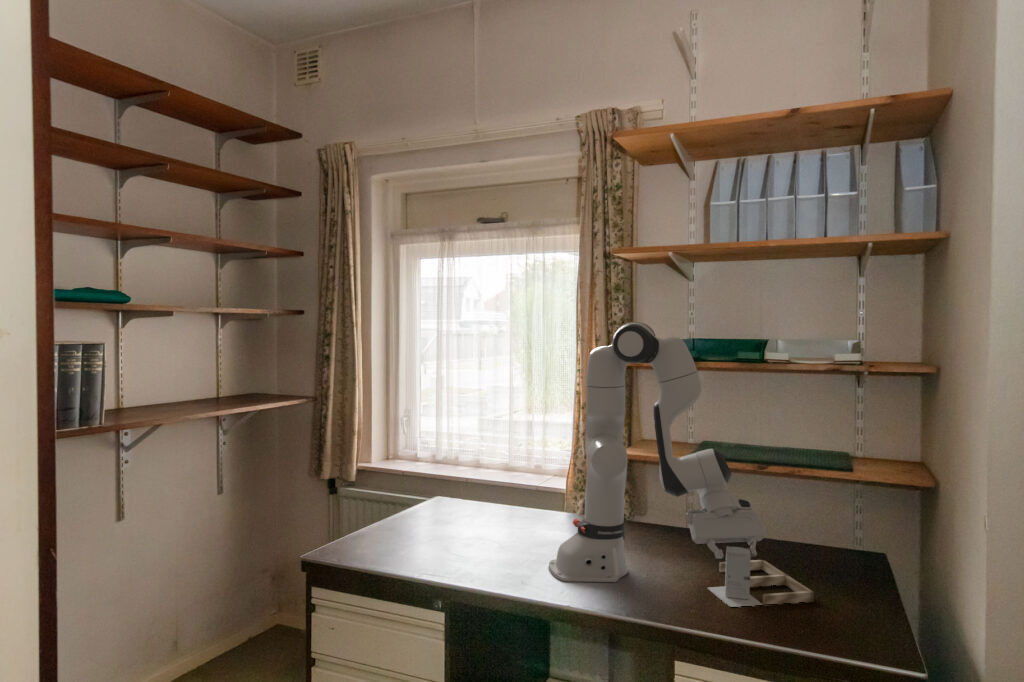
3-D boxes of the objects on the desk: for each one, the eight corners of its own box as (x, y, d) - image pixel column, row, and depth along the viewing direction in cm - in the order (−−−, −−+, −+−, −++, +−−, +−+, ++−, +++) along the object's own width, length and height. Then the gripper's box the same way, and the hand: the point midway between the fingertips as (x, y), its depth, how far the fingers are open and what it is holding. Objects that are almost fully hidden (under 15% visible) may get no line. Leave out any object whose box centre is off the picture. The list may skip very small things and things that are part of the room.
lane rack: (764, 605, 169) (765, 595, 169) (719, 570, 191) (719, 562, 191) (813, 601, 172) (814, 592, 172) (763, 568, 194) (763, 559, 194)
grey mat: (730, 608, 167) (730, 606, 167) (707, 588, 179) (707, 587, 179) (762, 605, 169) (763, 604, 169) (737, 586, 181) (737, 585, 181)
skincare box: (725, 597, 173) (725, 551, 172) (724, 590, 177) (725, 545, 176) (750, 600, 171) (751, 553, 171) (749, 593, 175) (749, 547, 175)
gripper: (688, 503, 178) (704, 553, 169) (757, 501, 182) (777, 549, 173) (680, 515, 183) (695, 563, 174) (748, 513, 187) (766, 560, 178)
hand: (736, 556), depth 173 cm, fingers open, 8 cm apart
